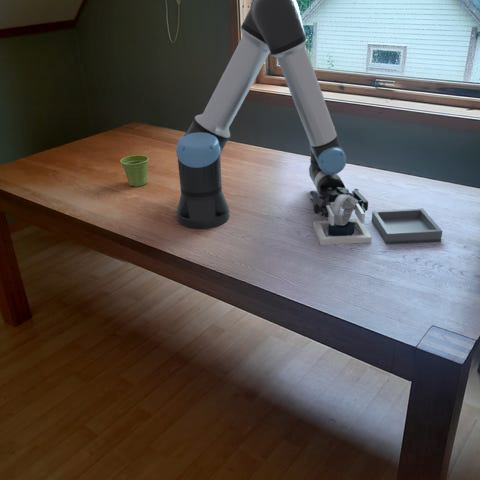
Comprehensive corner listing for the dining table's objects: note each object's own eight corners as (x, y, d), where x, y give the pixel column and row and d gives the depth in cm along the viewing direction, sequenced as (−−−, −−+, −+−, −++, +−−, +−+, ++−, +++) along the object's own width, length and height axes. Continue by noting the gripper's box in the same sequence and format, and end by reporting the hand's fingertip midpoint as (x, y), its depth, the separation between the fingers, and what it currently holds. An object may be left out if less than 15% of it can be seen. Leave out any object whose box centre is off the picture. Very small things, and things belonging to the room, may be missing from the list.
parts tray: (386, 244, 131) (387, 233, 130) (371, 220, 144) (372, 211, 142) (440, 241, 131) (442, 231, 130) (421, 218, 144) (422, 208, 143)
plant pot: (127, 190, 170) (123, 165, 166) (121, 181, 178) (117, 157, 174) (154, 185, 174) (152, 161, 170) (147, 177, 181) (144, 153, 177)
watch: (357, 230, 138) (359, 192, 133) (344, 242, 133) (346, 203, 128) (338, 225, 142) (340, 188, 136) (324, 237, 136) (325, 199, 131)
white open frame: (320, 245, 132) (320, 239, 132) (313, 226, 142) (313, 221, 141) (371, 242, 132) (371, 237, 132) (360, 223, 142) (360, 218, 142)
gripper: (362, 196, 152) (385, 230, 132) (295, 199, 152) (308, 235, 131) (364, 172, 149) (388, 203, 128) (295, 175, 148) (308, 208, 128)
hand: (347, 219), depth 130 cm, fingers closed on watch, 7 cm apart
